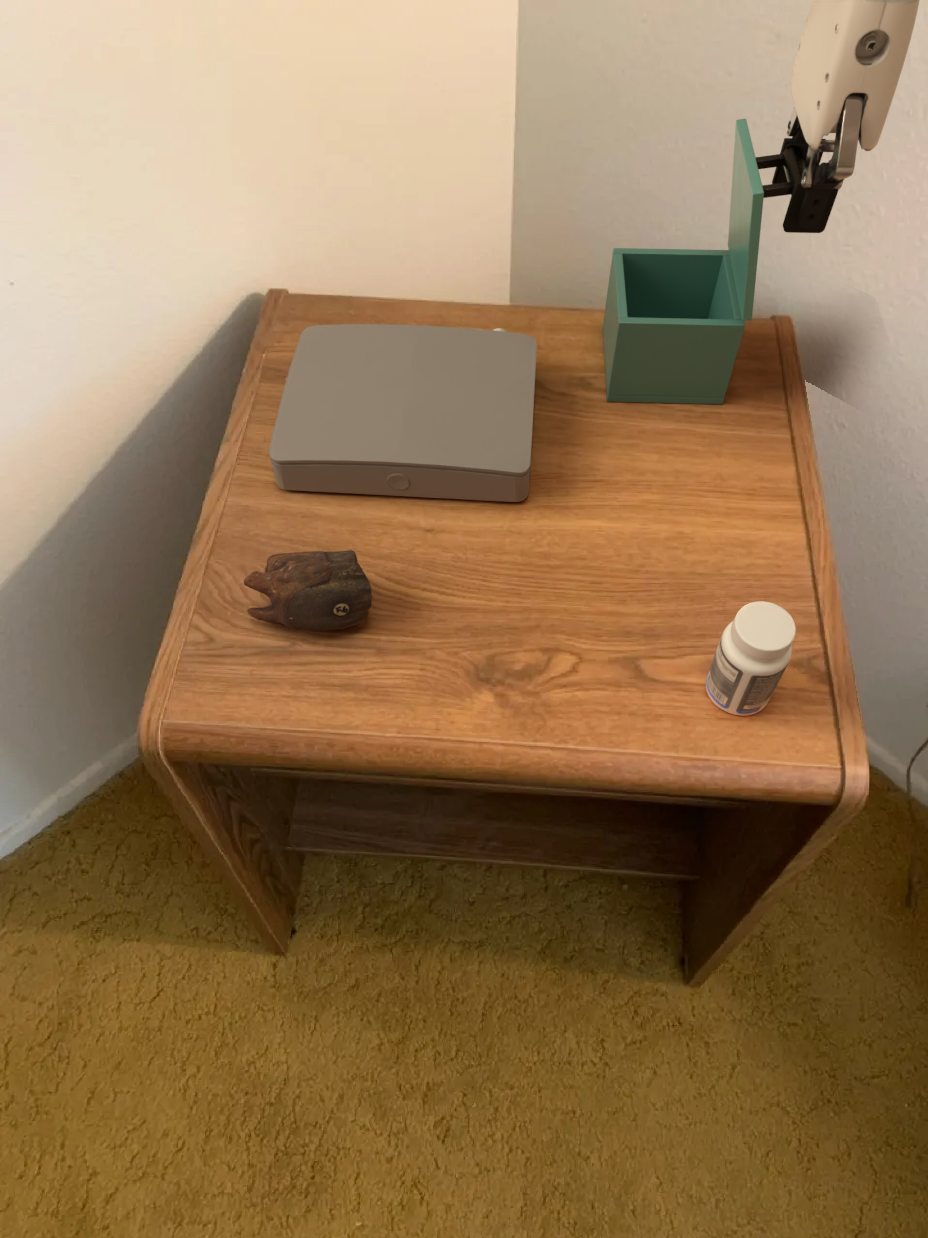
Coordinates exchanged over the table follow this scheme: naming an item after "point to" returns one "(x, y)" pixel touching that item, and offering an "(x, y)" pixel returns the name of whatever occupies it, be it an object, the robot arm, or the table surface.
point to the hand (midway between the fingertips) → (797, 206)
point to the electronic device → (407, 412)
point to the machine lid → (753, 207)
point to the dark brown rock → (312, 590)
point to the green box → (670, 326)
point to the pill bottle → (751, 658)
